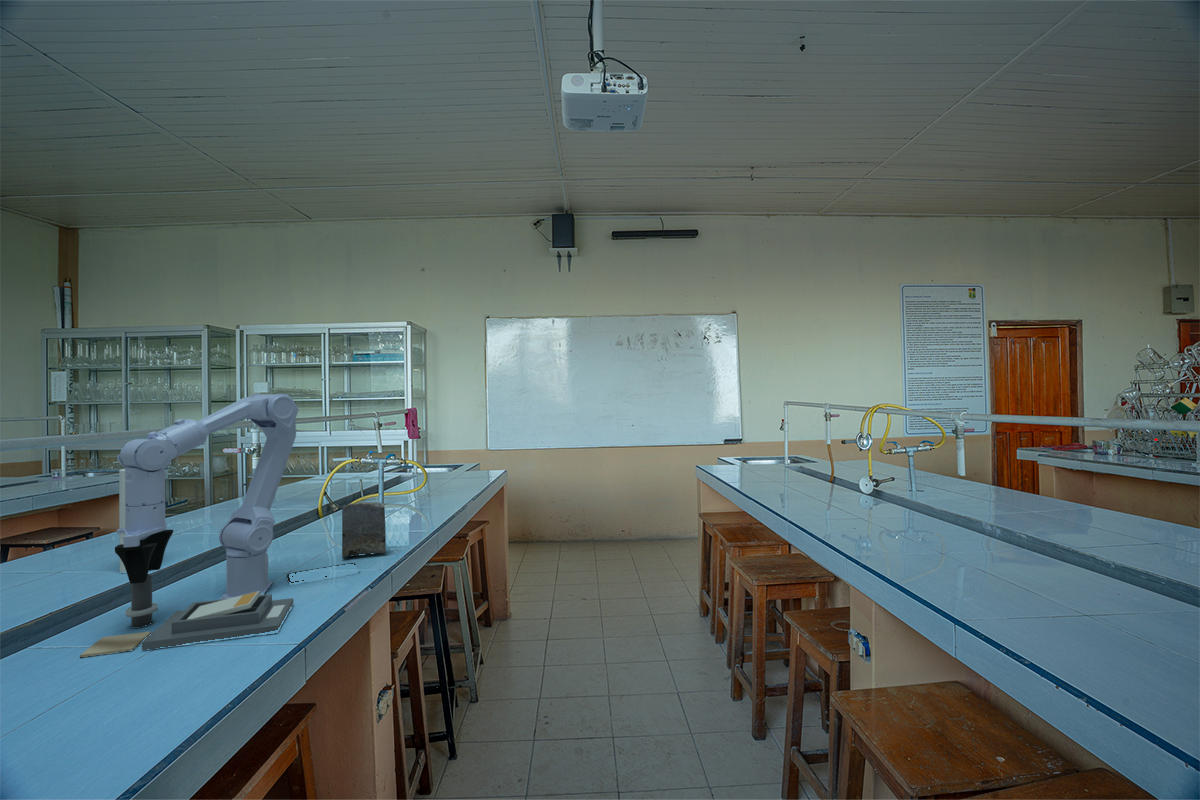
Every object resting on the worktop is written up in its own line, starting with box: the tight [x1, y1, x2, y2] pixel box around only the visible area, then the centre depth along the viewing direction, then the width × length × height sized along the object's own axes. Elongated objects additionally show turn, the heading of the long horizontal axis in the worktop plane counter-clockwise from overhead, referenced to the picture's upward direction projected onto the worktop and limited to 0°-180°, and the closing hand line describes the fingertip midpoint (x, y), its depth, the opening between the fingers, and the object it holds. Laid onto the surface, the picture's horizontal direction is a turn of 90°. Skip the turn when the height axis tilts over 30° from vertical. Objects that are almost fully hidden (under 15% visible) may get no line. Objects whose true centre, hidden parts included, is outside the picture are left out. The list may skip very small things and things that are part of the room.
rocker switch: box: [187, 591, 260, 619], centre depth 100 cm, size 7×10×1 cm
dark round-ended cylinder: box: [125, 573, 159, 628], centre depth 101 cm, size 5×5×9 cm
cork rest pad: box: [79, 630, 152, 658], centre depth 92 cm, size 7×7×1 cm
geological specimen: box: [341, 501, 387, 558], centre depth 144 cm, size 11×6×15 cm, turn 114°
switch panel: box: [141, 593, 294, 651], centre depth 100 cm, size 14×20×4 cm
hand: (145, 576), depth 100 cm, fingers open, 7 cm apart
